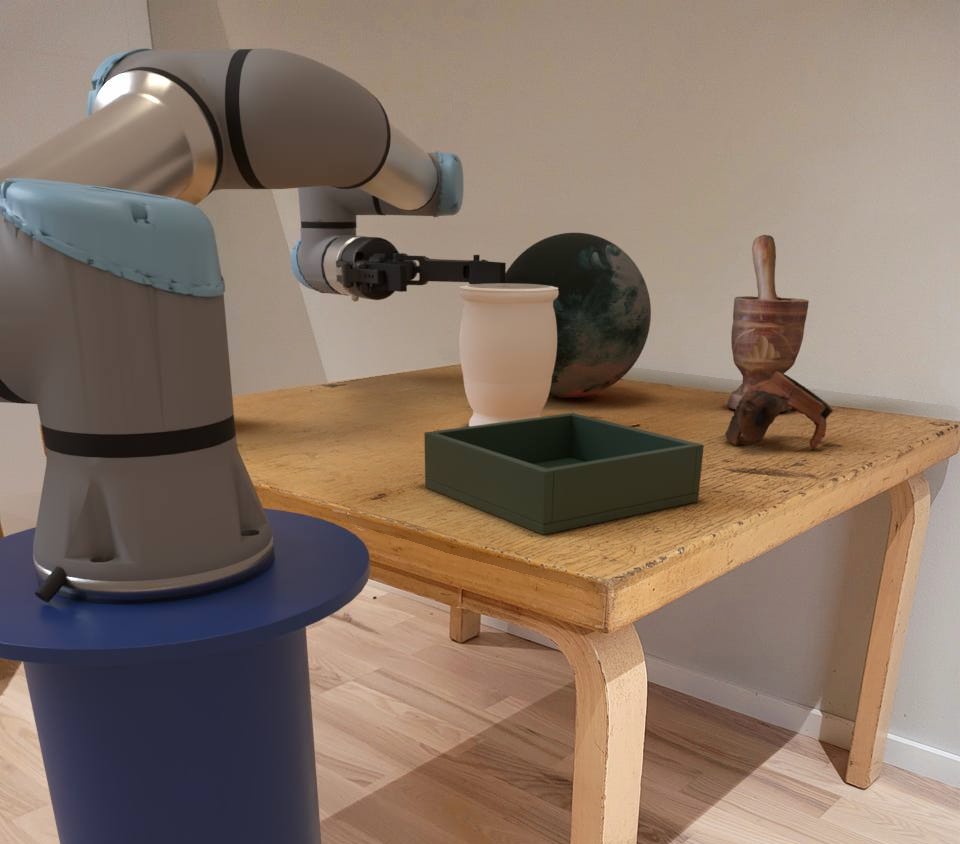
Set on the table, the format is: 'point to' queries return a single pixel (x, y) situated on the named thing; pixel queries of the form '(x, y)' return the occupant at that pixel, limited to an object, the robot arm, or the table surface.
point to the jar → (507, 349)
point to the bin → (562, 470)
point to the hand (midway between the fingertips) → (455, 276)
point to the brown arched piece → (776, 409)
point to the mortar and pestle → (765, 326)
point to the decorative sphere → (589, 309)
